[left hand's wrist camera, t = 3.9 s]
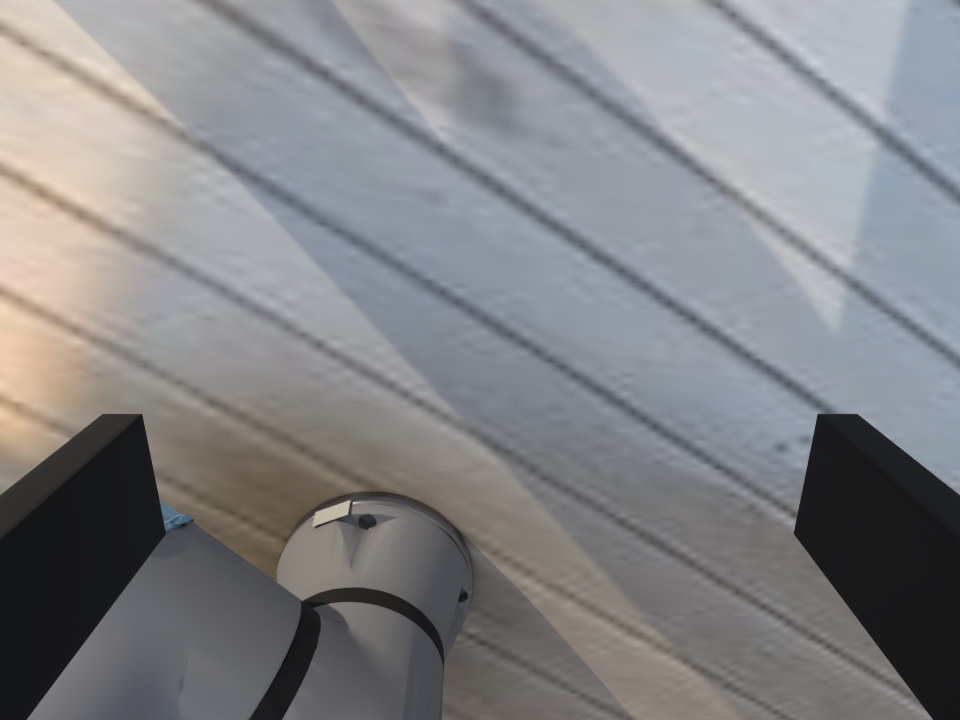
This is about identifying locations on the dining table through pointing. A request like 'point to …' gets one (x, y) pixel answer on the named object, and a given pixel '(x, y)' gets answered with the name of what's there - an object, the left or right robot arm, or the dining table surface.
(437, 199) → the dining table surface
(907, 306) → the dining table surface
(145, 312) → the dining table surface
